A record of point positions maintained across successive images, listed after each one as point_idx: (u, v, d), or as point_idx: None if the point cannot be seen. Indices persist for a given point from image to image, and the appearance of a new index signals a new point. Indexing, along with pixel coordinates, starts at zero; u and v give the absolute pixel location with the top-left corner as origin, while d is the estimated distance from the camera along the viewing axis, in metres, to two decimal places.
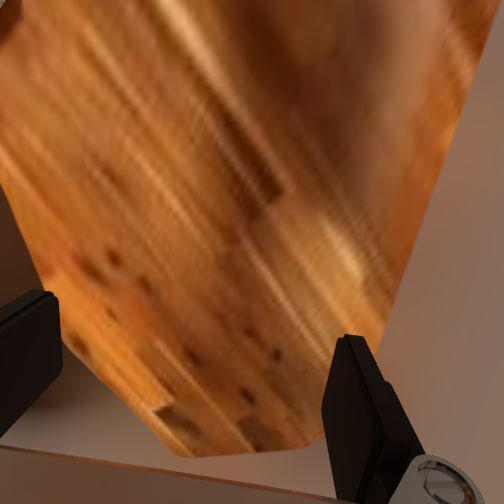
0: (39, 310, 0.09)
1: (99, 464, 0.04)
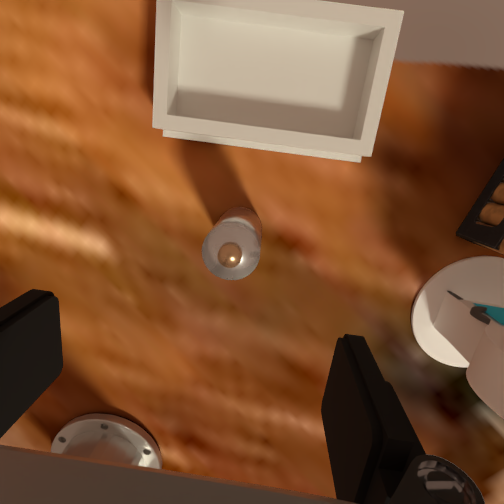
0: (39, 310, 0.09)
1: (99, 464, 0.04)
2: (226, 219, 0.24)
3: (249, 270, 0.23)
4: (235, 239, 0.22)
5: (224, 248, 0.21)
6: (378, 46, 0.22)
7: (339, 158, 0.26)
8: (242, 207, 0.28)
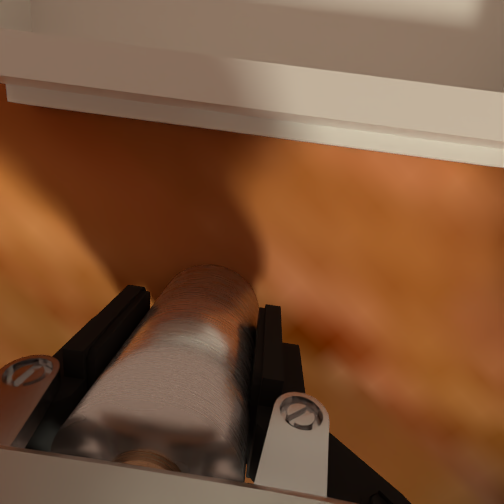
0: (140, 303, 0.11)
1: (99, 464, 0.04)
2: (147, 341, 0.08)
3: None
4: (159, 445, 0.06)
5: None
6: None
7: (455, 157, 0.10)
8: (214, 266, 0.13)
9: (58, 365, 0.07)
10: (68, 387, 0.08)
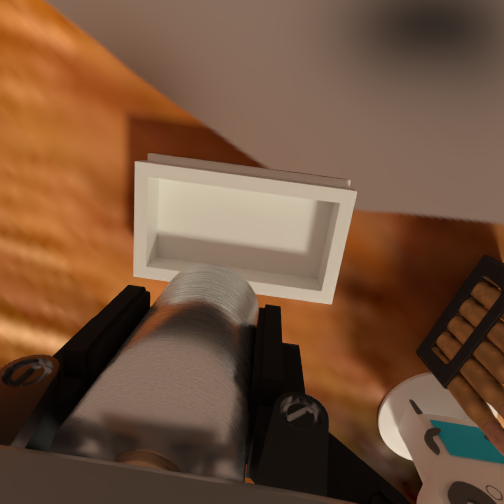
0: (140, 303, 0.11)
1: (99, 464, 0.04)
2: (147, 341, 0.08)
3: None
4: (159, 445, 0.06)
5: None
6: (336, 214, 0.24)
7: None
8: (214, 266, 0.13)
9: (58, 365, 0.07)
10: (68, 387, 0.08)
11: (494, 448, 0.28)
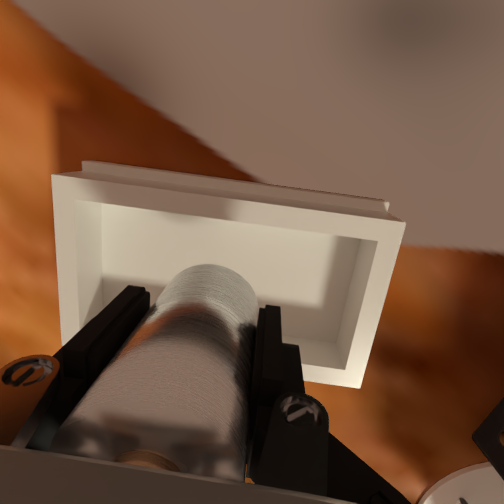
0: (140, 303, 0.11)
1: (99, 464, 0.04)
2: (146, 341, 0.08)
3: None
4: (159, 445, 0.06)
5: None
6: (369, 255, 0.16)
7: None
8: (214, 266, 0.13)
9: (58, 365, 0.07)
10: (68, 387, 0.08)
11: None
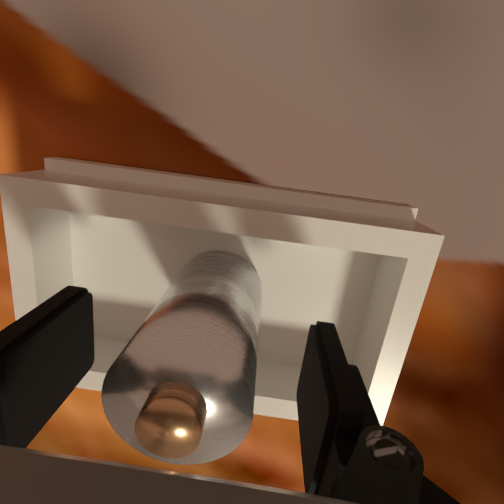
0: (77, 305, 0.10)
1: (99, 464, 0.04)
2: (173, 305, 0.10)
3: (227, 446, 0.09)
4: (188, 378, 0.08)
5: (152, 413, 0.08)
6: (395, 275, 0.13)
7: None
8: (223, 251, 0.15)
9: None
10: None
11: None
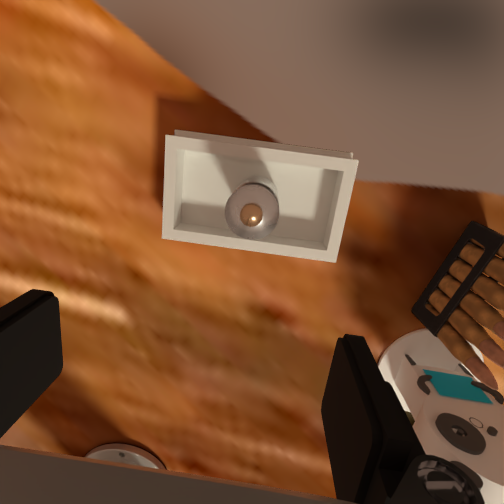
0: (39, 310, 0.09)
1: (99, 464, 0.04)
2: (246, 183, 0.25)
3: (269, 230, 0.24)
4: (256, 200, 0.23)
5: (246, 207, 0.23)
6: (340, 181, 0.28)
7: None
8: (259, 176, 0.30)
9: None
10: None
11: (479, 391, 0.31)
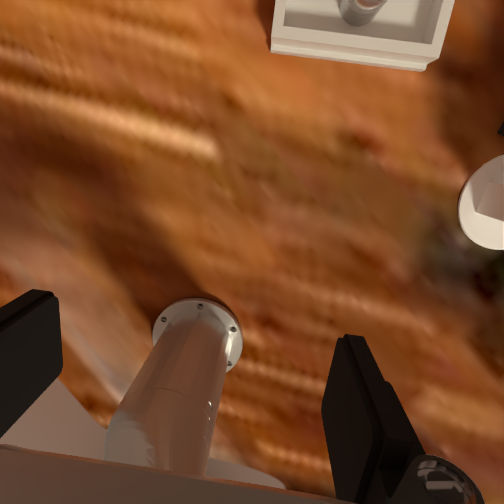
0: (39, 310, 0.09)
1: (99, 464, 0.04)
2: None
3: None
4: None
5: None
6: None
7: (409, 66, 0.33)
8: None
9: None
10: None
11: None
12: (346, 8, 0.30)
